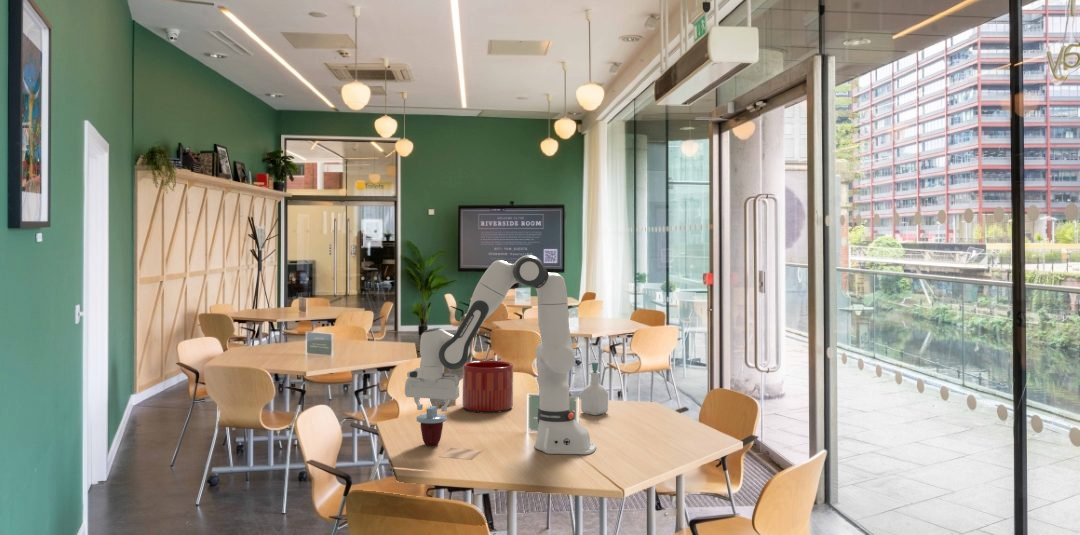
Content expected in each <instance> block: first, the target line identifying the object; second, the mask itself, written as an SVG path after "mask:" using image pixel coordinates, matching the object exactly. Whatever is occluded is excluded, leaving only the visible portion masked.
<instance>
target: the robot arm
mask: <svg viewBox="0 0 1080 535" xmlns="http://www.w3.org/2000/svg"><path fill="white" fill-rule="evenodd" d="M518 283H519V284H521V285H523V286H525V287H531V288H534V289H535V290H536V294H537V295H536V296H537V318H538V319H537V320H538V321H537V323H538V328H539V333H540V338H541V341H540V343H538V345H537V346H536V348H535V358H536V369H537V378H538V379H537V380H538V385H539V386H538V389H539V391H538V393H539V394H538V395H539V396H538V399H539V400H538V402H539V403H538V404H539V406H538V408H537V425H538V426H537V434H536V439H535V443H534V446H533V447H534V448H535V449H537V450H539V451H542V452H543V453H545V454H548V455H549V454H550V455H551V454H552V455H554V454H555V455H590V454H593V453H594V452H595V451H596V449H597V445H596V443H594V442H592V441H591V437H590V433H589V431H588V429H587V428H586V427H585V426H583V425H582V424H581V423H579V422H578V421H577V420H576V419H575V414H576V411H575V410H572V409H571V408H570V385H569V380H568V375H567V373H568V372H570V371H571V370H572V369H573V368H574V365H575V363H576V357H575V354H574V349H573V342H572V341H573V340H572V336H571V335H572V334H571V329H570V321H569V301H568V291H567V285H566V280H565V278H564V276H562V275H561V274H560V273H557V272H548V270H547V269H546V268H545V265H544V264H543V262H542V260H541V259H539V257H538V256H535V255H532V254H526V255H523V256H521V257H519V258H518V259H517V260H515V261H513V262H511V263H509V262H507V261H505V260H501V259H497V260H495V261H493V262H492V263H491V264H490V266H488V268H487V269H486V270H485V272H484V273H483V274H482V275H481V278H480V279H479V281H478V283H477V284H476V286H475V289H474V291H473V293H472V295H471V300H470V303H469V306H468V310H467V312H466V315H465V317H464V318H463V320H462V322H461V323H460V325H459V327H458V329H457V330H456V332H455V334H452V333H450V332H447V331H446V330H445V329H443V328H442V327H434V328H429V329H426V330H424V331H423V332H422V333H421V336H420V344H419V354H420V361H419V367H417V368H415V369H412V370H410V371H407V373H406V377H407V379H406V380H405V383H404V384H405V385H404V395H405V397H406V398H413V400H414V402H415V404H416V410H417V411H422V410H424V409H423V407H424V406H423V405H424V404H422V403H421V402H420V400H421V399H434V400H444V401H443V402H444V405H442V406H441V408H440V409H441V412H444V413H445V412H447V410H448V405H449V404H450V402H451V401H455V400H458V398H459V397H460V387H459V384H460V377H459V376H458V375H456V373H448V372H447V373H446V372H445V368H446V369H448V370H458V369H461V368H463V365H464V364H465V363H467V362H468V358H469V355H470V353H471V346H470V345H471V343H472V342H473V339H474V338H475V337H476V335H477V332H478V331H479V329H480V327H481V326H482V325H483V323H484V322H485V321H486V320H487V319H488V318H489V317H490V316H491V315H492V314H493V313H494V312H495V311H497V309H498V307H500V305H501V304H502V303H503V300H504V299H505V298H506V296H507V294H508V293H509V291H510V289H511V288H512V287H513V286H514V285H515V284H518Z"/></svg>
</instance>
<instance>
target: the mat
mask: <svg viewBox="0 0 1080 535" xmlns="http://www.w3.org/2000/svg"><path fill="white" fill-rule="evenodd" d="M483 450H484V449H473V448H472V449H470V448H461V447H460V448H459V447H458V448H457V447H450V448H449V449H447V450H446V451H445V452H443V453H442V454H440V455H439V456H438V457H439V458H448V459H457V460H458V459H461V460H470V461H471V460H473V459H475V458H476V457H477V456H478V455H479V454H480V453H482V452H483Z"/></svg>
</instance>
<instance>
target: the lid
mask: <svg viewBox="0 0 1080 535" xmlns="http://www.w3.org/2000/svg"><path fill="white" fill-rule="evenodd" d="M447 421H448V416H447V415H445V414H442V413H438V406H434V405H432V406H429V407H428V408H426V413H425V414H419V415H418V416H416V422H418V423H420V424H421V423H441V422H443V423H444V422H447Z"/></svg>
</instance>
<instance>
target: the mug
mask: <svg viewBox="0 0 1080 535" xmlns="http://www.w3.org/2000/svg"><path fill="white" fill-rule="evenodd" d="M443 427H444V422H441V423H420V430H421V437H422V441H423V443H424V445H425V446H426V447H436V446H439V443H440V442H441V439H442V433H443Z"/></svg>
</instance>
